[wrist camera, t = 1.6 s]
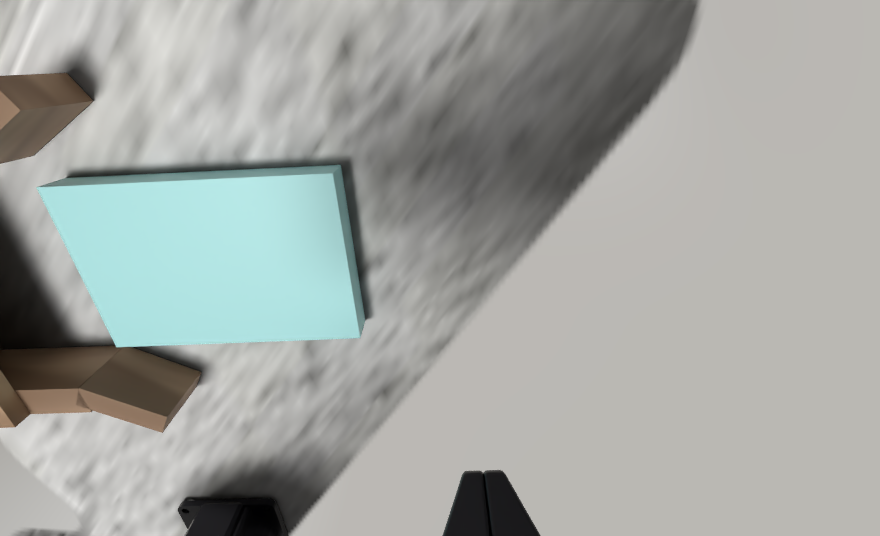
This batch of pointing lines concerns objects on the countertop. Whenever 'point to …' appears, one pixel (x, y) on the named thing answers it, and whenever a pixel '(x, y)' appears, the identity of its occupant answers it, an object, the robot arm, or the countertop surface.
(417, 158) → the countertop surface
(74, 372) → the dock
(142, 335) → the panel
